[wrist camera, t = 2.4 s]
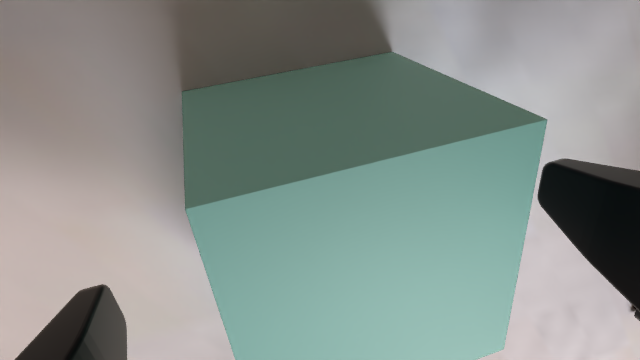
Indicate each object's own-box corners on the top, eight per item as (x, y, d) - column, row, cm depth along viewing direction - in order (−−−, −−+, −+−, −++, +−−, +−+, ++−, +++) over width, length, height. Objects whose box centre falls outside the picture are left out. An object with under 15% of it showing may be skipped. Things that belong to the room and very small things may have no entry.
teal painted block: (390, 51, 10) (547, 119, 6) (393, 217, 12) (503, 349, 8) (182, 90, 9) (184, 209, 5) (231, 262, 11) (262, 439, 7)
